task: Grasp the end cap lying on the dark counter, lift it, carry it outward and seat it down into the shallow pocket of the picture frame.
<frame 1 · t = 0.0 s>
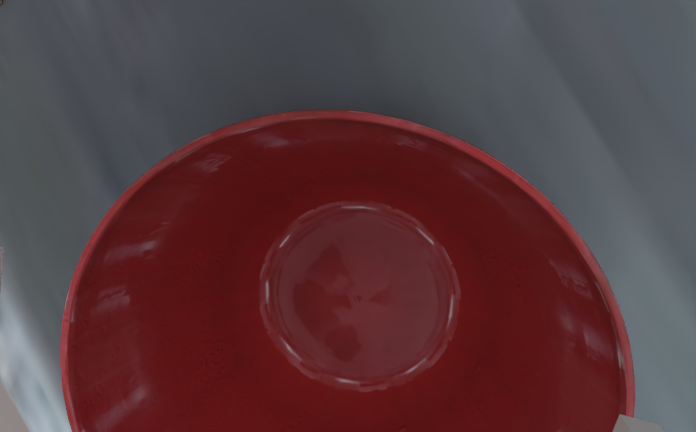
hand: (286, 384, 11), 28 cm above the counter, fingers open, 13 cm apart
mixing bowl: (358, 291, 40), on the counter
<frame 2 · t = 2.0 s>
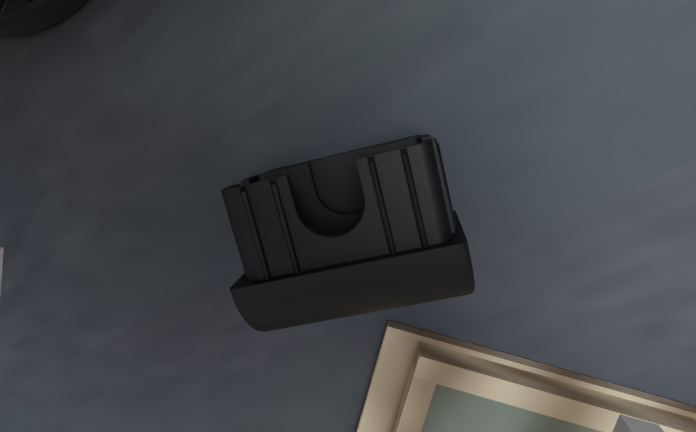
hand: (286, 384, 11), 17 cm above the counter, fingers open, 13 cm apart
end cap: (357, 217, 27), on the counter
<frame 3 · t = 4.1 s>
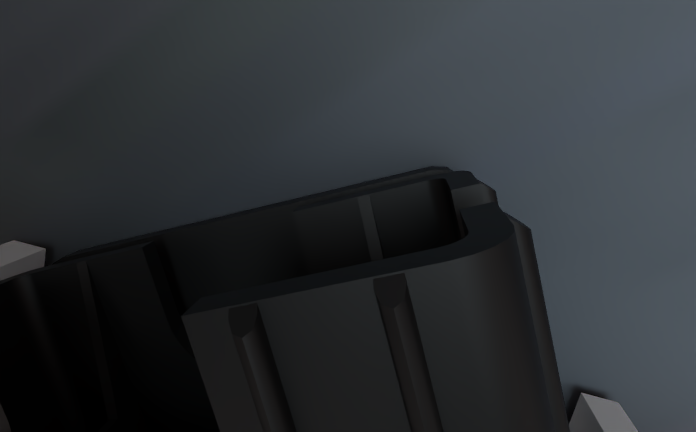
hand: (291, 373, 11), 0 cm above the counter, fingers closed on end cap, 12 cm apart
end cap: (293, 357, 12), on the counter, touching gripper
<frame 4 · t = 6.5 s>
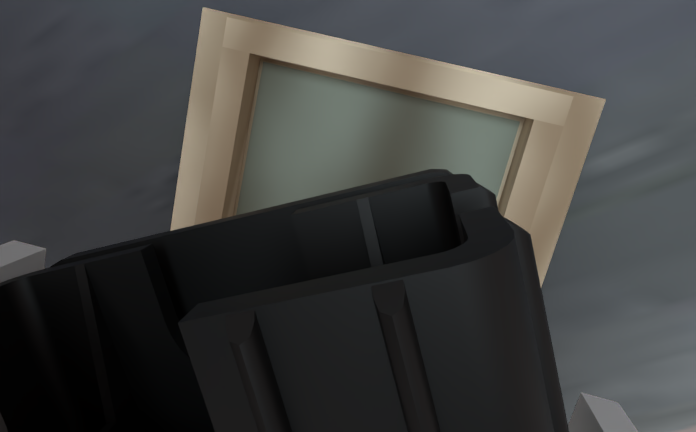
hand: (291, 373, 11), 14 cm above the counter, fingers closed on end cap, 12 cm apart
end cap: (292, 359, 12), point 14 cm above the counter, touching gripper
picture frame: (359, 220, 25), on the counter
when the fingers open (4 cm above the counter, at t = 9.0 s): end cap drops 2 cm, resting on picture frame.
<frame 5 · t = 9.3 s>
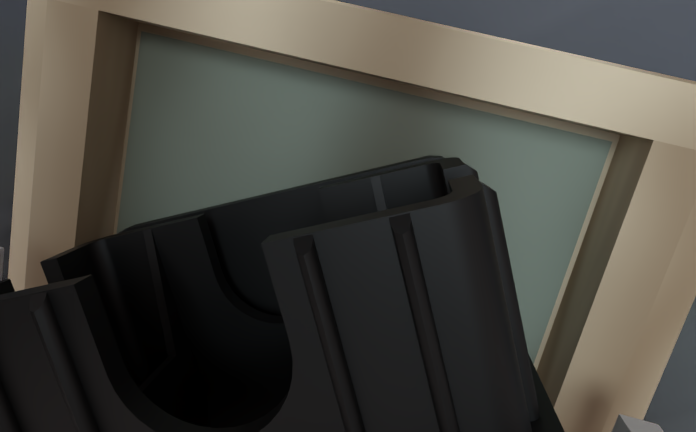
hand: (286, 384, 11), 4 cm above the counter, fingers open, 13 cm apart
end cap: (312, 314, 14), point 1 cm above the counter, touching picture frame
picture frame: (321, 306, 15), on the counter
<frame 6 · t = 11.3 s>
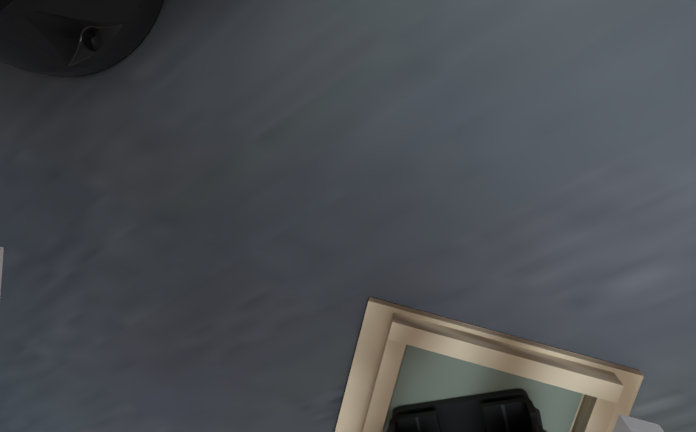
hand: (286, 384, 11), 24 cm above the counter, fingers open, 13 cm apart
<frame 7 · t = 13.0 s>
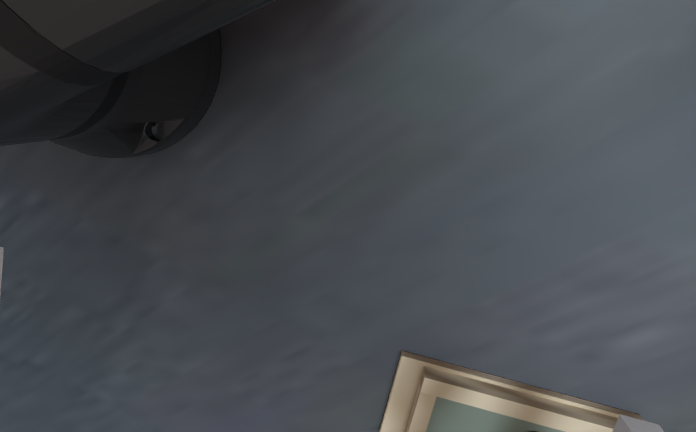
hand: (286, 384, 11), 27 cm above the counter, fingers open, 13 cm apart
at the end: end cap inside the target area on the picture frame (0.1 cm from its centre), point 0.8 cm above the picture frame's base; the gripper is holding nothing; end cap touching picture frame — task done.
